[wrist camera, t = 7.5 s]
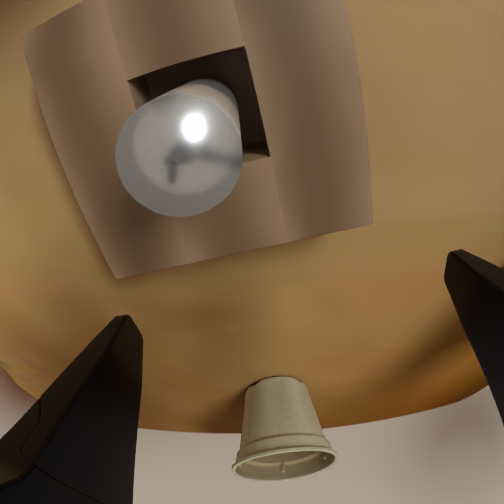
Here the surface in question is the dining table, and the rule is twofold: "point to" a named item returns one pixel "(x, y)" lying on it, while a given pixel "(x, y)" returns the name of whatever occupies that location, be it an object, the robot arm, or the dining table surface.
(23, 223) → the dining table surface
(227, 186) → the pin
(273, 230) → the bore block
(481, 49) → the dining table surface
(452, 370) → the dining table surface
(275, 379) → the flower pot
